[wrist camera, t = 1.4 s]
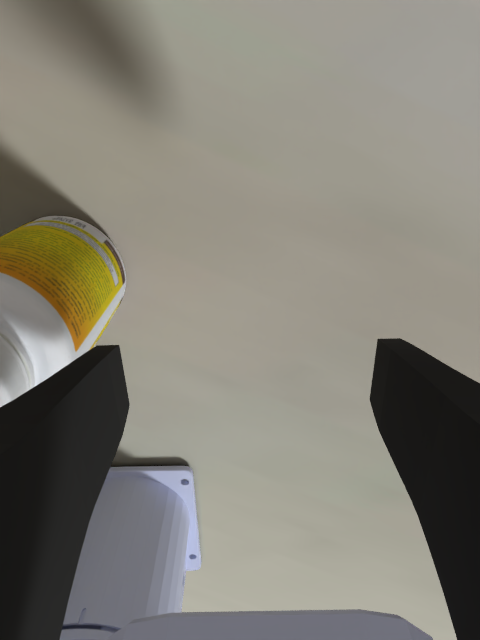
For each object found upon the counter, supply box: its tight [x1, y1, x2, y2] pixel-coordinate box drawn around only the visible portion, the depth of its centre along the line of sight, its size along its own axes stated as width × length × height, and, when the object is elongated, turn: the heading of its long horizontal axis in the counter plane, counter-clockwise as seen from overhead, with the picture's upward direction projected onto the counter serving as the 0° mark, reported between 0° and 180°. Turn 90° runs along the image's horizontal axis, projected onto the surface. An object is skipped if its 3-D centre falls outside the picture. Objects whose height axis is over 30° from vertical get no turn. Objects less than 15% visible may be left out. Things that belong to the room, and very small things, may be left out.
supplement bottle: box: [0, 216, 126, 407], centre depth 16 cm, size 6×6×10 cm
